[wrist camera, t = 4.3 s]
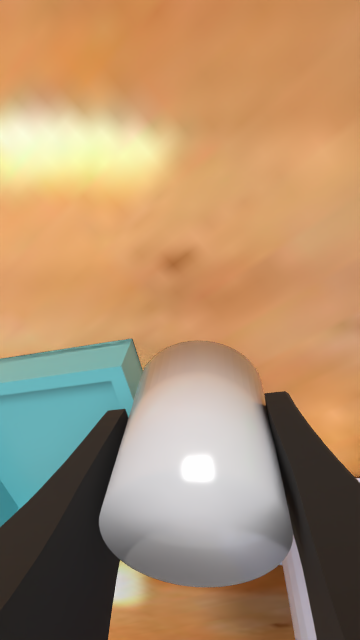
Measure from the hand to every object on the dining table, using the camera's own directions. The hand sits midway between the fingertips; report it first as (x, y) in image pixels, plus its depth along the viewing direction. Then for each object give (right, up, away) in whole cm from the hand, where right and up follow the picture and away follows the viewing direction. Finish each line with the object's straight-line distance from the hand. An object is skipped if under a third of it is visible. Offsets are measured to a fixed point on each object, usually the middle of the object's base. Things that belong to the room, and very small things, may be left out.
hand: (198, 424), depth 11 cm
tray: (-9, -5, +13) cm, 16 cm away
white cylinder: (0, +1, +1) cm, 2 cm away
